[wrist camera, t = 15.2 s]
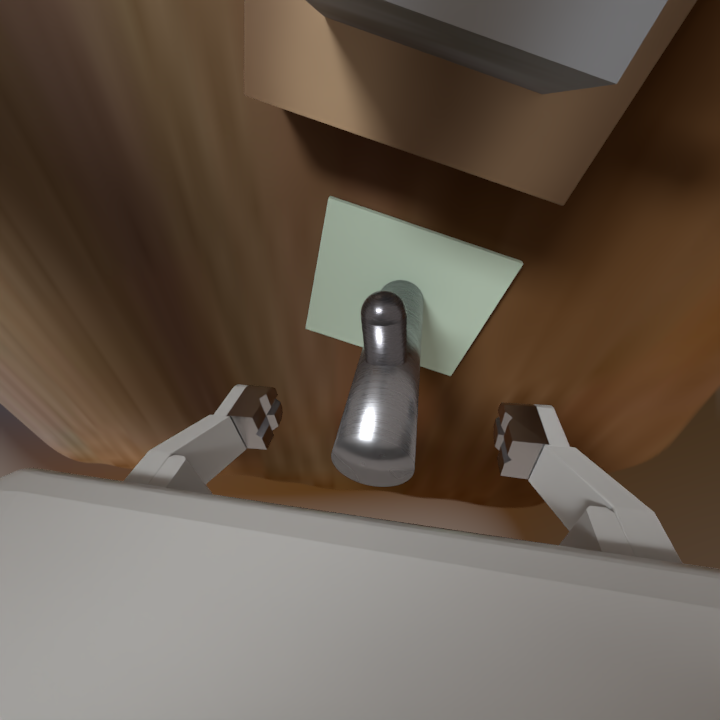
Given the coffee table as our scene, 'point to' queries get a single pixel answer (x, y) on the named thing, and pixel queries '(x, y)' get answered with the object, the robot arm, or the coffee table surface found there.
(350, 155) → the coffee table surface
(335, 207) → the mat
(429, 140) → the block
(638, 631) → the robot arm
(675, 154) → the coffee table surface
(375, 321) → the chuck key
